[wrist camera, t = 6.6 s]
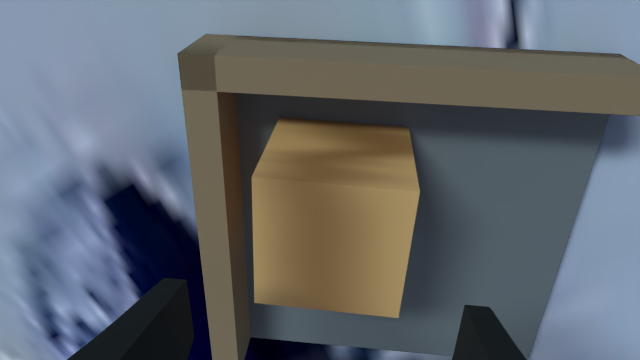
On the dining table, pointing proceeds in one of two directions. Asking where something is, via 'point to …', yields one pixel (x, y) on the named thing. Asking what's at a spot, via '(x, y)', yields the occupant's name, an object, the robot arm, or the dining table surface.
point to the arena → (431, 166)
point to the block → (334, 216)
